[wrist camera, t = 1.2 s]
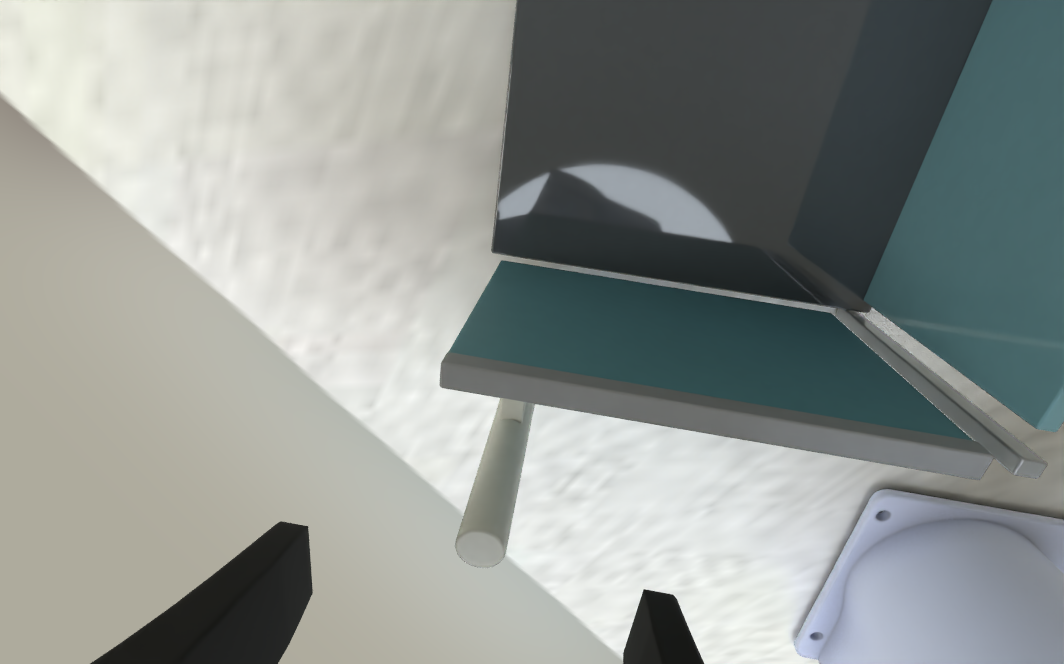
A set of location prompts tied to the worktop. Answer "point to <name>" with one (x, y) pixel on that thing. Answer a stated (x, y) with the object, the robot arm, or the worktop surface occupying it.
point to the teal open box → (813, 171)
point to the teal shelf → (678, 380)
